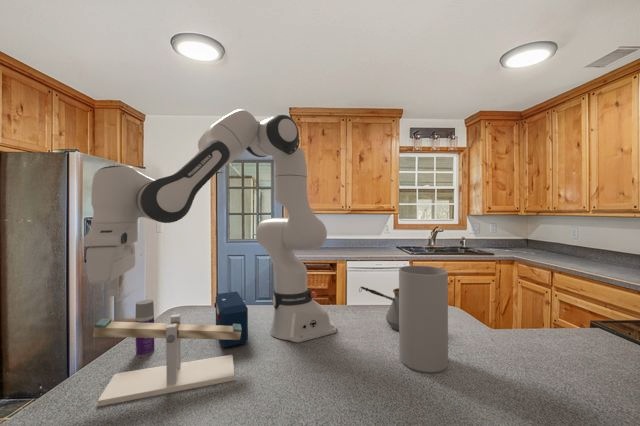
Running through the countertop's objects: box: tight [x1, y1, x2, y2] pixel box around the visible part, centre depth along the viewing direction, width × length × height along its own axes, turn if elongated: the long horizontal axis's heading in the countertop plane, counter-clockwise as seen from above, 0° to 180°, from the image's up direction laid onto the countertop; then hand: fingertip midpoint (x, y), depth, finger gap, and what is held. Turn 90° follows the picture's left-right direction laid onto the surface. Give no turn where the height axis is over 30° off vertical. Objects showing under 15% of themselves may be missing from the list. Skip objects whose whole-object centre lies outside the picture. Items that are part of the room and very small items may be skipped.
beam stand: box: [97, 313, 236, 407], centre depth 72 cm, size 28×11×15 cm, turn 109°
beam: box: [92, 318, 242, 340], centre depth 72 cm, size 32×4×3 cm, turn 109°
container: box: [134, 299, 155, 358], centre depth 85 cm, size 5×5×15 cm
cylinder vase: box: [398, 265, 449, 374], centre depth 79 cm, size 12×12×25 cm
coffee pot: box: [358, 286, 399, 331], centre depth 102 cm, size 21×12×15 cm, turn 98°
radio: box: [213, 291, 249, 348], centre depth 97 cm, size 21×9×20 cm, turn 24°
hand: (115, 294), depth 67 cm, fingers closed
